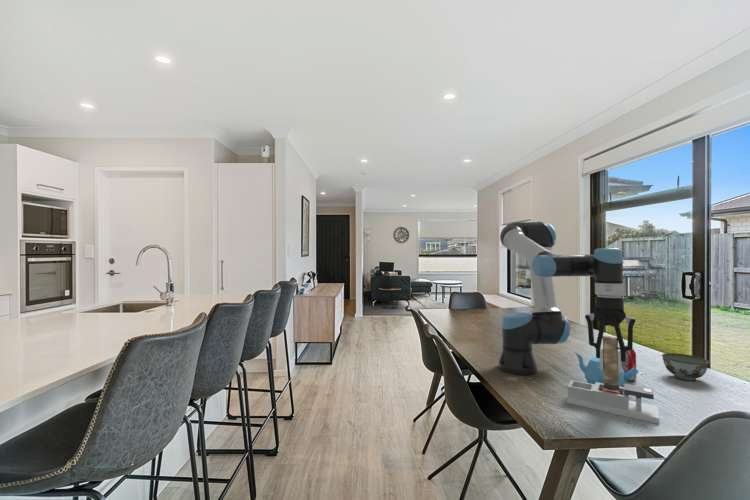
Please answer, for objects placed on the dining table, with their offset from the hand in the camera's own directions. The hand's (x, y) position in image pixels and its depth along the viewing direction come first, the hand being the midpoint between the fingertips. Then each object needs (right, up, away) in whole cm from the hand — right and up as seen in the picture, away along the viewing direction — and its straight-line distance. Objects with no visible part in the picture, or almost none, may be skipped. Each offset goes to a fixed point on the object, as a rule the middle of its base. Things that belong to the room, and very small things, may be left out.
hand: (610, 369), depth 109 cm
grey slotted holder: (0, -12, 0) cm, 12 cm away
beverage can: (+23, -12, +24) cm, 35 cm away
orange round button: (0, -8, 0) cm, 8 cm away
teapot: (+9, -12, +16) cm, 22 cm away
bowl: (+46, -12, +24) cm, 53 cm away
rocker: (+6, -5, -4) cm, 9 cm away
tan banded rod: (0, -6, 0) cm, 6 cm away
